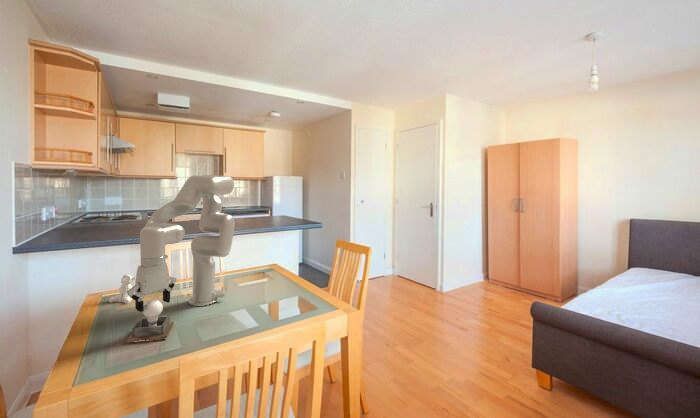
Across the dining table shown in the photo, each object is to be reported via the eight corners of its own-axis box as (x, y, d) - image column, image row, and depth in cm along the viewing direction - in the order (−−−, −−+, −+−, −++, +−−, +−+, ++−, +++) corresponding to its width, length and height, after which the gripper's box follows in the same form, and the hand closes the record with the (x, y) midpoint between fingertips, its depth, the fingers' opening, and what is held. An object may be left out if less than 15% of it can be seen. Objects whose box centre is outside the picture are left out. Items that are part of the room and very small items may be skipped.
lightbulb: (152, 334, 111) (153, 304, 110) (137, 331, 112) (138, 302, 112) (166, 326, 117) (167, 298, 117) (152, 324, 119) (152, 296, 118)
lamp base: (173, 325, 122) (173, 314, 122) (166, 339, 111) (166, 327, 111) (138, 327, 118) (138, 316, 118) (126, 343, 107) (126, 330, 107)
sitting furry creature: (107, 302, 140) (107, 276, 139) (122, 296, 149) (122, 271, 148) (127, 304, 140) (127, 278, 139) (141, 297, 148) (141, 272, 147)
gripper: (169, 254, 122) (169, 296, 124) (120, 264, 107) (122, 312, 109) (181, 257, 119) (182, 300, 121) (133, 268, 104) (134, 317, 105)
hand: (153, 306), depth 115 cm, fingers open, 9 cm apart
